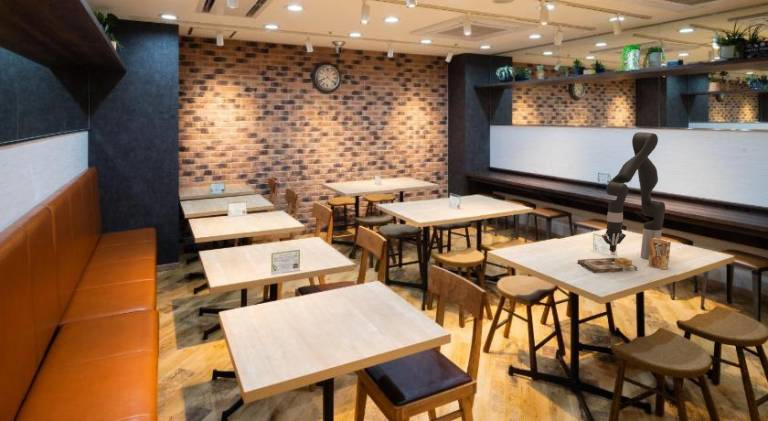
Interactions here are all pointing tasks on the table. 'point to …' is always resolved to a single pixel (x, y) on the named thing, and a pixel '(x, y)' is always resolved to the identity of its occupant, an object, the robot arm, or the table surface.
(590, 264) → the compartment board
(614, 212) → the robot arm
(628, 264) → the ochre block
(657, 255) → the candy box
